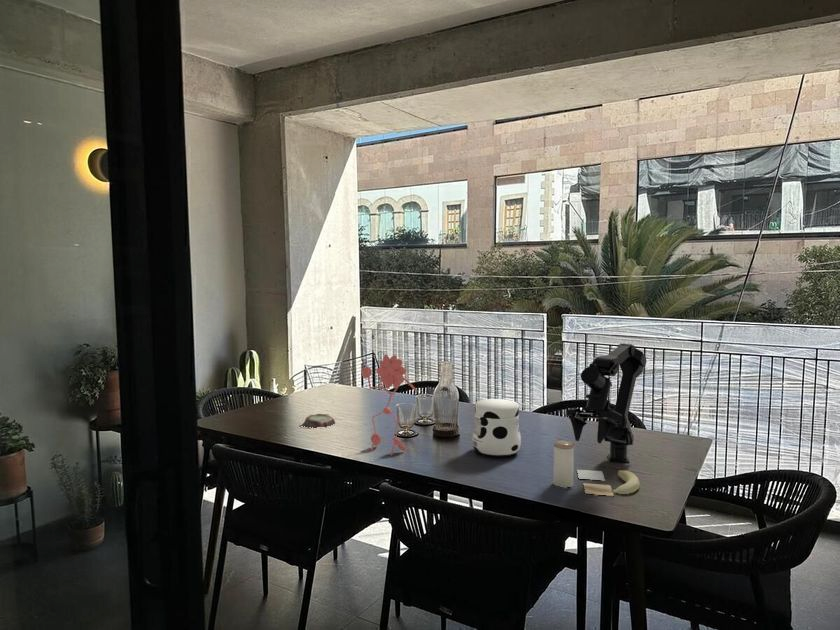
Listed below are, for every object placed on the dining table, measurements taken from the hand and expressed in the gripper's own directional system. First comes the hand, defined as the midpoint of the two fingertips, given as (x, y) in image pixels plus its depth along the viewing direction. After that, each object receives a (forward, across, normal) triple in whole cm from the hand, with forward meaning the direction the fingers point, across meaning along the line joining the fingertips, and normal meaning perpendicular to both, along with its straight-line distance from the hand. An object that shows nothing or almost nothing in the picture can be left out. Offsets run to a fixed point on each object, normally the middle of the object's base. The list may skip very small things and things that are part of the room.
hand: (587, 441), depth 183 cm
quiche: (+17, +107, +46) cm, 118 cm away
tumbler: (+14, +4, +2) cm, 15 cm away
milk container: (+8, +38, +4) cm, 39 cm away
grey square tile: (+8, +5, -9) cm, 13 cm away
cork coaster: (+13, -5, -4) cm, 15 cm away
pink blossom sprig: (+18, +61, +32) cm, 72 cm away
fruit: (+10, -6, -13) cm, 17 cm away
